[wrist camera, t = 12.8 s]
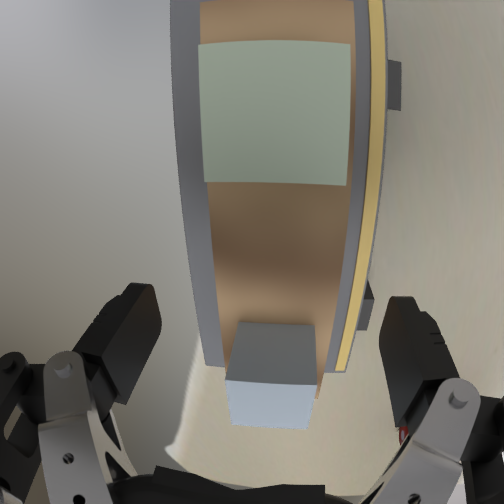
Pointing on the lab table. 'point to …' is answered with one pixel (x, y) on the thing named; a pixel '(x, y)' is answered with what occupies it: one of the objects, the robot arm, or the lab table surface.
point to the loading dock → (362, 188)
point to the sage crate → (275, 111)
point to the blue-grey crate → (272, 375)
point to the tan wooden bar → (280, 196)
